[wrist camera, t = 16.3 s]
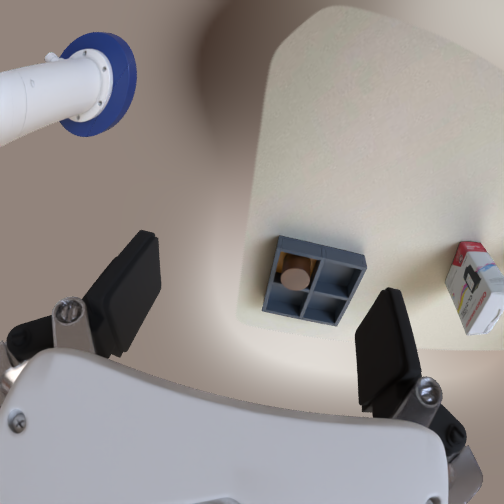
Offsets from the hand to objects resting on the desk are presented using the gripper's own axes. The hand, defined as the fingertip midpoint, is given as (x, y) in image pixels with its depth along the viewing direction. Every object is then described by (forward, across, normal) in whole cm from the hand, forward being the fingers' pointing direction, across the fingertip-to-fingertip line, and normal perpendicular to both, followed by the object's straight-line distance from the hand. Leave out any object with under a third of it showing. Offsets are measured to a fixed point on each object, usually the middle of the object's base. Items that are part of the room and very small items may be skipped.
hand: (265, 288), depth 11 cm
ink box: (+25, -32, +10) cm, 41 cm away
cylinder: (+24, -5, +17) cm, 30 cm away
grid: (+25, -8, +20) cm, 33 cm away
